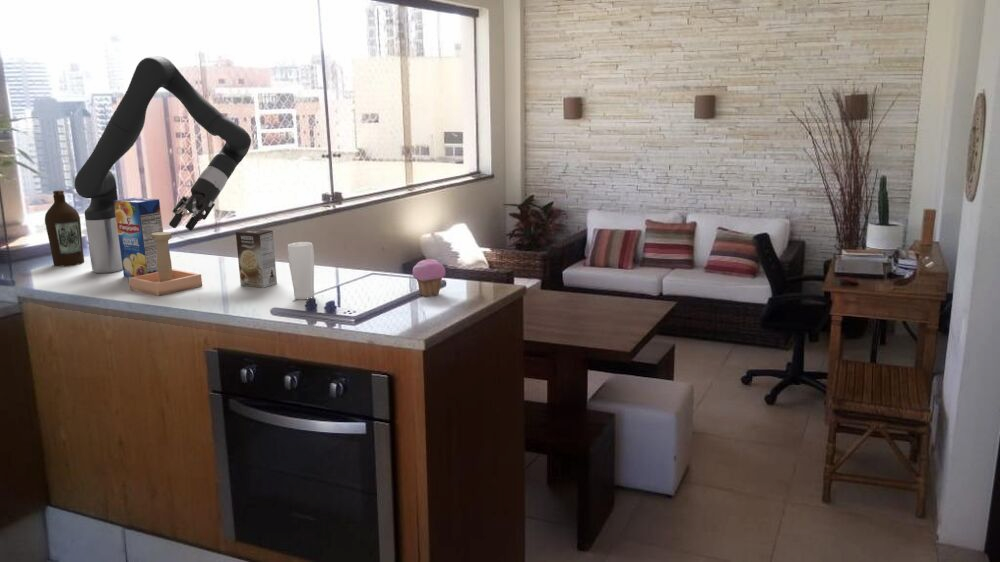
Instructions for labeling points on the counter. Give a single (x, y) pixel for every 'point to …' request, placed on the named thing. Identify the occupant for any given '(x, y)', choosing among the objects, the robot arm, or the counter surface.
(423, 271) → the cupcake
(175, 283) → the tray
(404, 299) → the counter surface
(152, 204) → the juice carton
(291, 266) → the drinking glass
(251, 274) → the coffee box
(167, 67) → the robot arm
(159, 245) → the handle
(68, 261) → the olive oil
